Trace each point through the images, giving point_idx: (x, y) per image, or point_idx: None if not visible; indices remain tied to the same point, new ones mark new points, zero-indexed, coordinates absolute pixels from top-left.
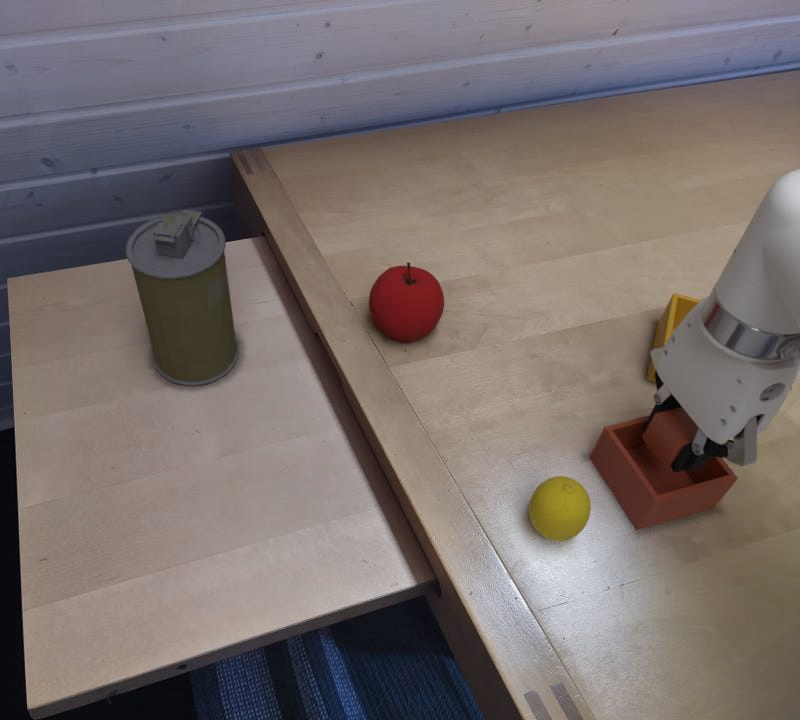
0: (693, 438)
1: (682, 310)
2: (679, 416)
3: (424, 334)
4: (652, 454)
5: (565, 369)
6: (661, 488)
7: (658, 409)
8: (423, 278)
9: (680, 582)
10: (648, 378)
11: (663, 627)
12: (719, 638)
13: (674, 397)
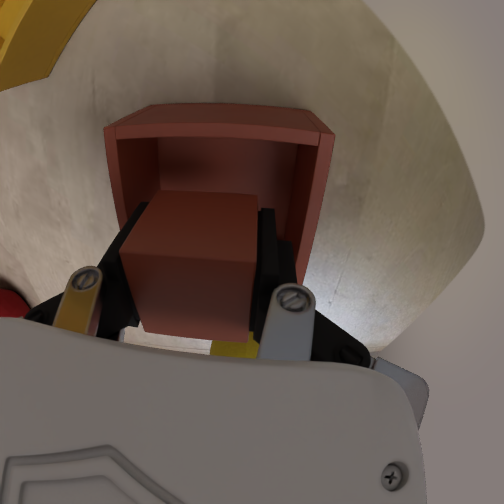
0: (239, 314)
1: None
2: (160, 302)
3: (24, 316)
4: (179, 151)
5: (29, 187)
6: (246, 178)
7: (134, 325)
8: None
9: (371, 239)
10: (45, 77)
11: (389, 281)
12: (429, 244)
13: (106, 316)
